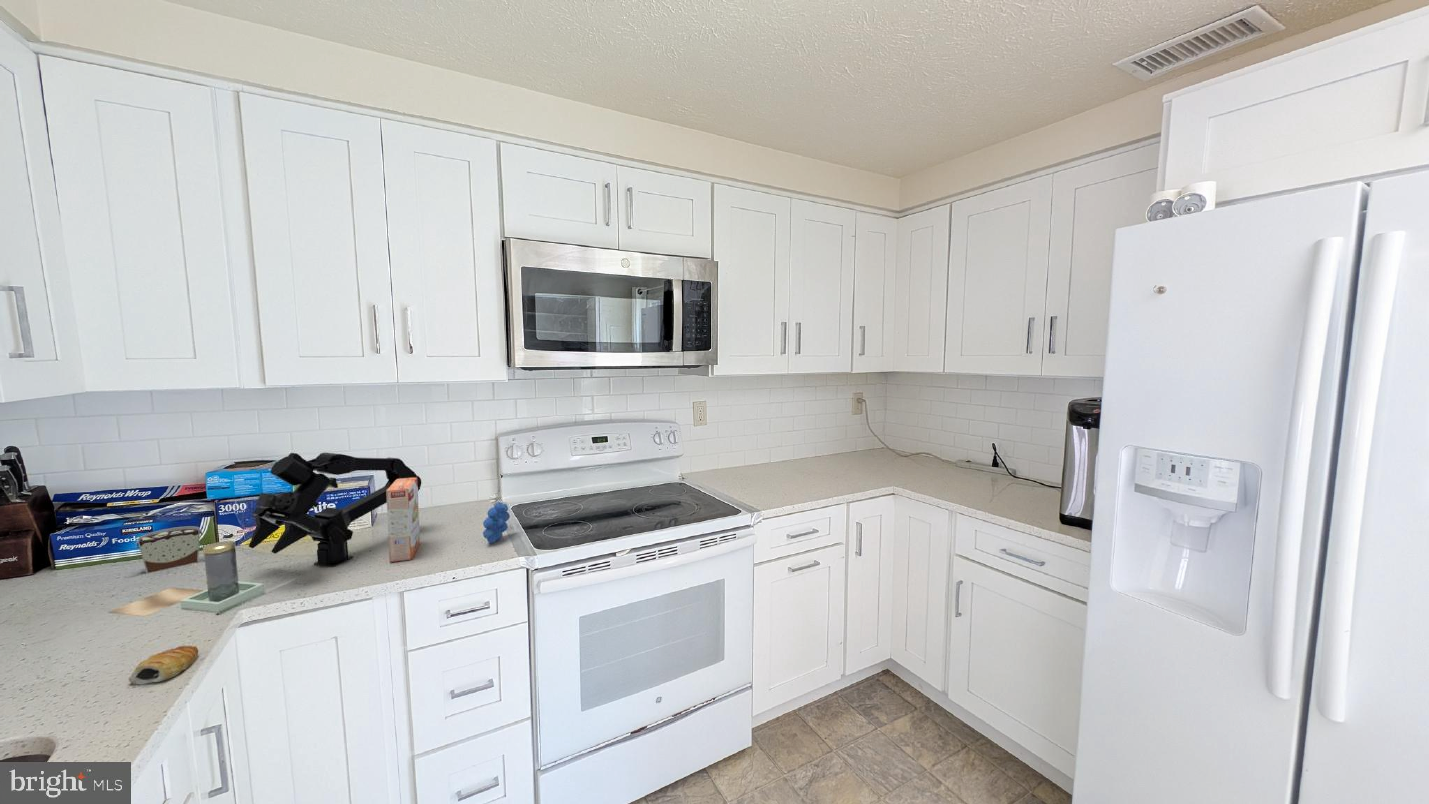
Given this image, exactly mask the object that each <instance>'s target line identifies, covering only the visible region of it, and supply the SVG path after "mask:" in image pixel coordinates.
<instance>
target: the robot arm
mask: <svg viewBox="0 0 1429 804" xmlns="http://www.w3.org/2000/svg"><path fill="white" fill-rule="evenodd" d="M315 471H316V472H317V473H316V472H315ZM357 471H384V472H385V476H386V479H387V482H386V483H385V485H384V486H383V487H381V488H379V489H377V490H375V491H372V492H370V494H367V495H366V496H363V497H362V498H360V499H358V500H355V501H354V502H352V503H350V504H348V505H346V506H344V507H342V508H336V507H335V508H334V507H329V506H328V507H326V508H323V510H321V511H319V512H317V513H313V514H312V516H311V515H310V514H308V513H309V512H310V510H311V509H312V508H318V506H319V505H320V504H319V503H318V500H319V499H320V498H321V496H322V495H323V494H324V493H325V492H326V490H327V489H328V488H333V489H337V488H338V487H339V485H338V483H337V478H336V477H328V476H327V475H335V476H340V475H346V474H350V473H352V472H357ZM270 474H271V475H273V476H274V477H276V478H278V479H279V480H280V481H283V482H285V483H286V484H288V485H290V486H292V487H295V486H296V488H295V489H294V490H293V491H287V492H283V491H279V492H278V493H276V494H272V493H266V492H260V494H259V496H258V498H257V501H256V504H255V506H257V507H256V508H255V509H254V510H253V511H252V513H251V514H252V515H253V519H254V520H255V523H256V525H255V529H254V531H253V533H252V536H251V540H250V541H249V544H248V548H251V549H254V548H256V547H257V546H258V545H260V544H261V543H262V542H264V541H265V540H266V539H267V538H269V537H270V536H271V535H273V534H274V533H275V532H276V531H278V530H279V529H280V528H281V527H280V526H281V525H282V524H284V531H283V532H282V534H281V535H280V536H279V538H278V540H277V542H276V543H275V544H274V546H273V548H272V549H271V551H270V552H271V553H272V554H278V553H280V551H283V550H284V549H287V548H288V547H289V546H291V545H293V544H295V543H296V542H298V541H299V540H301V539H303V538H306V537H307V536H309V537H311V539H312V541H314V542H318V543H317V549H316V556H317V559H316V560H317V561H315V562H314V563H313V565H314V566H320V567H321V566H323V567H336V566H338V565H340V564H342V563H344V562H346V561H349V560H350V559H353V558H354V555H352V554H351V555H350V554H349V550H348V547H349V546H348V541H350V540H352V537H353V533H354V531H353V530H351V529H349V526H350V524H351V523H352V522H354V521H356V520H358V519H360V518H361V517H364V516H365V515H367V514H369V513H370V512H373V511H374V510H375V509H378V508H379V507H382V506H383V505H385V504H387V494H386V490H387V489H388V488H389V487H390V486H391V485H392V484H393V483H394V482H395V480H396V479H401V478H418V492H419V491H420V490H421V488H422V487H421V486H422V479H421V477H420V476H419V475H417V474H416V473H415V472H414V470H412V469H411V468H410V467H408V466H407V465H406V464H405V462H404V461H403V460H402V459H400V458H398V457H396V458H395V457H355V456H353V455H352V456H351V455H346V454H342V453H335V452H334V453H333V452H322V453H319V455H318V456H316V457H315V458H312V459H309V460H306V459H305V458H303V457H302V456H301V455H300V454H299V453H296V452H290V453H289V454H288V455H287V456H284V457H283V458H281V459H279V460H278V461H276V462H274V464H273V465H272V467H271V469H270ZM325 474H327V475H325Z"/></svg>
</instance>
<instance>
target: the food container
mask: <svg viewBox="0 0 1429 804" xmlns="http://www.w3.org/2000/svg"><path fill="white" fill-rule="evenodd" d="M203 534H204V533H203V531H202V529H200V527H199V526H194V525H192V526H191V525H188V526H178V527H177V526H176V527H170V528H164V529H160V530H155V531H151V532H149V533H146V534H143V535H141V536H139V537H137V540H136V542H135V547H134V548H135V549H136V548H137V547H139V551H140V554H141V557H142V561H143V565H144V568H145V572H146V574H149V573H155V572H159V571H163V570H168V569H172V568H176V567H177V568H178V567H180V566H186V565H190V564H193V563H199V555H200V553H199V551H200V537H201V536H200V535H203Z"/></svg>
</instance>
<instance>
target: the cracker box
mask: <svg viewBox="0 0 1429 804" xmlns="http://www.w3.org/2000/svg"><path fill="white" fill-rule="evenodd" d="M386 494H387V503H386V513H387V514H386V517H387V535H388V557H389V558H388V559H389V560H388V561H389V563H395V562H403V561H405V562H406V561H412V560H413V557H414V556H415V554H416V551H417V550H418V547H419V545H420V543H421V538H420V512H419V509H420V508H419V491H418V478H401V479H396V480H395V482H394V483H393V484H392V485H391V486H390V487H389V488H388V489H387V490H386Z"/></svg>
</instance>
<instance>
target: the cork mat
mask: <svg viewBox="0 0 1429 804" xmlns="http://www.w3.org/2000/svg"><path fill="white" fill-rule="evenodd" d="M205 590H206V589H205ZM205 590H203V589H193V588H185V587H170V588H168V589H165V590H162V591H160V592H157V593H154V594H151V595H149V596H147V597H144V598H141V599H139V600H136V601H133V602H130V603H129V604H126V605H123V606H121V607H118V608H116V609H113V610H110V611H107V613H110V614H117V615H118V614H119V615H128V616H139V617H146V616H149V615H152V614H154V613H156V612H159V611H162V610H163V609H166V608H168V607H172V606H173V605H175V604H178V603H181V600H183V599H185V598H188V597H190V596H193V595H195V594H198V593H200V592H202V591H205Z"/></svg>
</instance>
